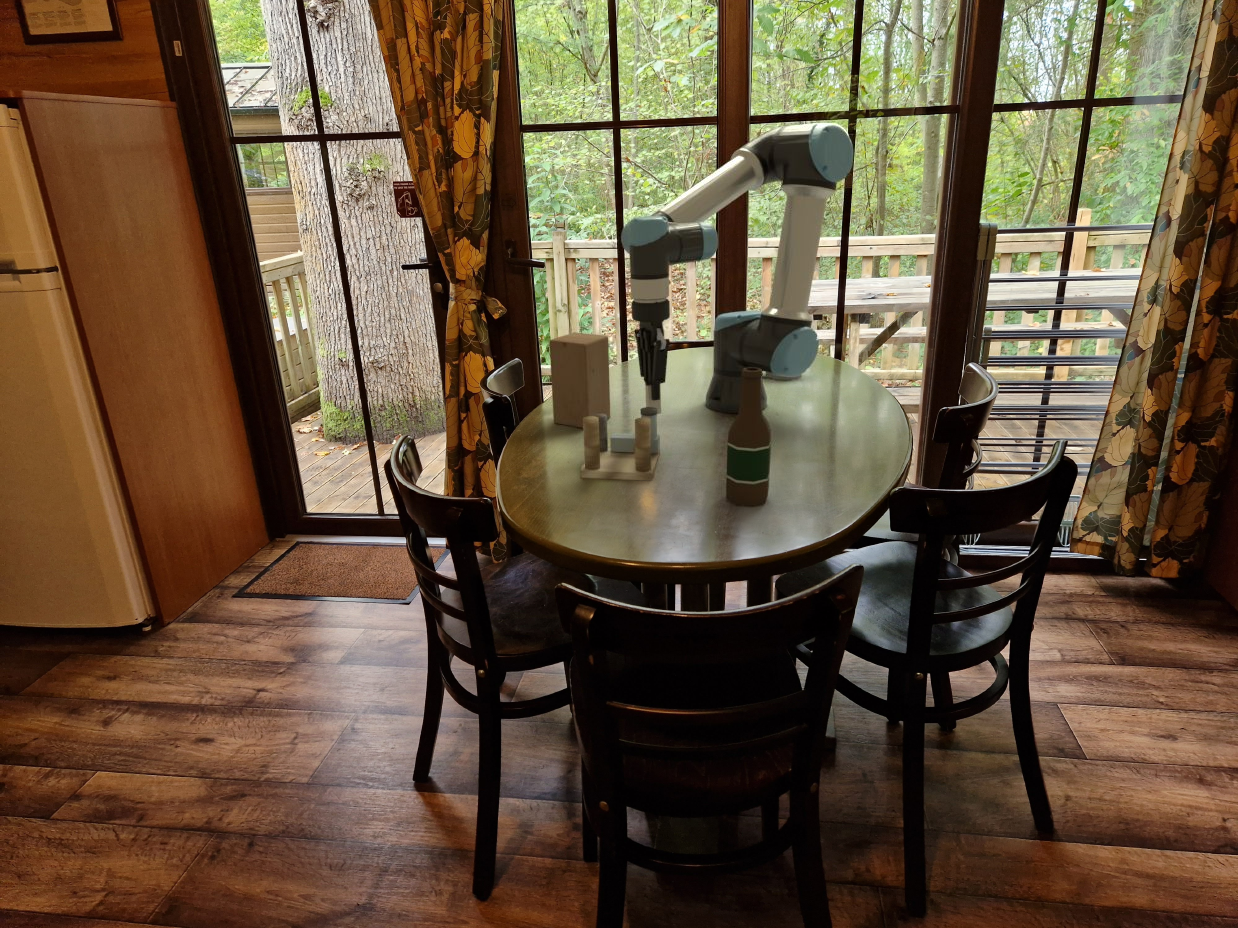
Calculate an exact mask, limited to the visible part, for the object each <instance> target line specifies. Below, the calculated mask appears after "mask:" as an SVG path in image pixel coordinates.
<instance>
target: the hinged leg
mask: <svg viewBox="0 0 1238 928" xmlns="http://www.w3.org/2000/svg"><path fill="white" fill-rule="evenodd" d="M640 418H649V419H651V453H658V452H659V449H660V450H661V435H660V434H658V414H657V408H654V407H646V406H645V407H641V408H640ZM609 441H610V445H609V447H611V452H634V444H635V433H621V432H612V434H611V436H610V438H609Z"/></svg>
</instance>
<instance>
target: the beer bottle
mask: <svg viewBox="0 0 1238 928" xmlns="http://www.w3.org/2000/svg"><path fill="white" fill-rule="evenodd" d="M741 376H742V377H743V380H742V391H741V401H740V409H739V413H737V415H736V416H735V418H734V420H733V421H732V423H731V425H730V428H729V431H728V434H727V435H728V437H727V445H726V446H727V449H726V450H727V451H726V485H725V487H726V488H725V491H726V492H725V494H726V495H725V496H726V501H727V502H729V503H732V504H734V506H738V507H739V506H740V507H749V508H754V507H757V506H761V505H765V504H766V502H767V499H768V497H769V489H770V473H771V471H770V470H771V455H772V454H771V450H772V429H771V427H770V424H769V421H768V420H767V418H766V416H765V415H764V412H763V409H762V398H761V377H763V376H764V371H762V369H759V368H757V367H748V368H744V369H743V370H742V374H741Z"/></svg>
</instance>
